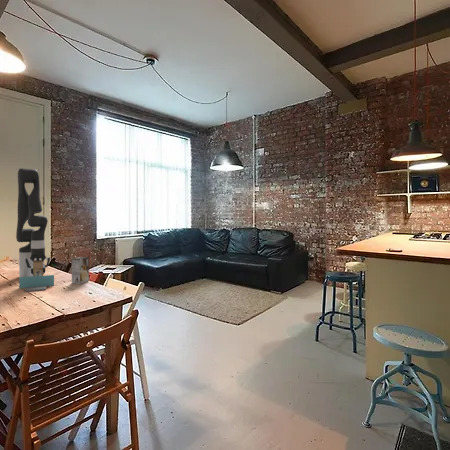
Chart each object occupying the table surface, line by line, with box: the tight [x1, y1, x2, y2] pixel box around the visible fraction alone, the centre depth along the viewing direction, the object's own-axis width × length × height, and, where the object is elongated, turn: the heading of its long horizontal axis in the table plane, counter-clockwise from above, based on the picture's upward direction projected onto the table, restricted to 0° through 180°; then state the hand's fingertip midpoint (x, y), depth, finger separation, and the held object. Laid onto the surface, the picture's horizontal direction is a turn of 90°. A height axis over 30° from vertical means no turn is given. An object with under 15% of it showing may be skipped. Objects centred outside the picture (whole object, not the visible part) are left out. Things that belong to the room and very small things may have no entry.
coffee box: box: [71, 256, 90, 285], centre depth 197 cm, size 9×6×16 cm
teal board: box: [18, 274, 55, 289], centre depth 184 cm, size 1×18×6 cm, turn 118°
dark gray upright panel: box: [24, 286, 47, 293], centre depth 178 cm, size 7×10×1 cm
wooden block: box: [33, 261, 44, 276], centre depth 191 cm, size 5×5×11 cm
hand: (38, 273), depth 191 cm, fingers closed on wooden block, 5 cm apart
